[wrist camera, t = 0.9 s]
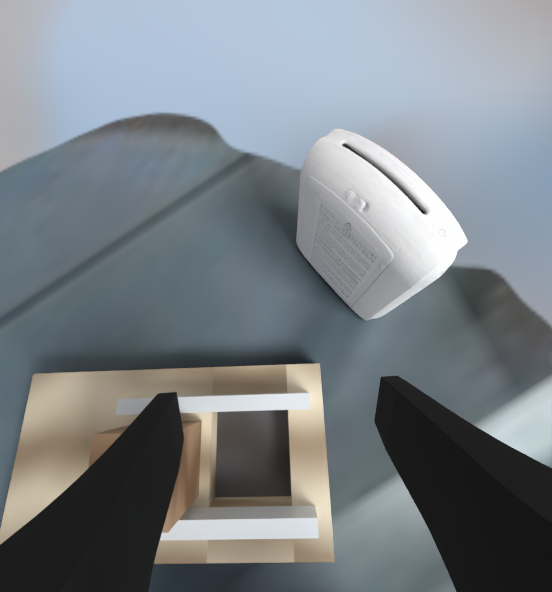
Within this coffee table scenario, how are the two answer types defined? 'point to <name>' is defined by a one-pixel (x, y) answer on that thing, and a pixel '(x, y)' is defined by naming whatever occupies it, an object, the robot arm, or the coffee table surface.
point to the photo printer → (371, 224)
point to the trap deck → (213, 457)
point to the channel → (237, 519)
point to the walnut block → (188, 470)
